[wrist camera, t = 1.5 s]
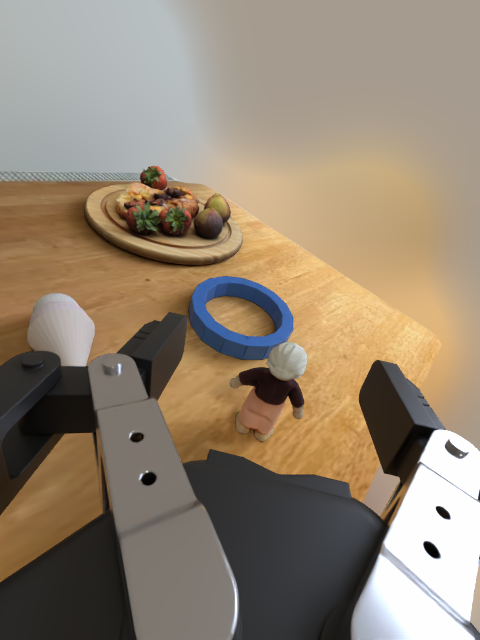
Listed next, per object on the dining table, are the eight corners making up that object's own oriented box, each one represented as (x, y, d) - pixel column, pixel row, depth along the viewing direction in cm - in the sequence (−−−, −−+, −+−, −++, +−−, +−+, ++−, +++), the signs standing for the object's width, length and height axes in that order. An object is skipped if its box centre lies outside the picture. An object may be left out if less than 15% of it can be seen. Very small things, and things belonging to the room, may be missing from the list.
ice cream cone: (78, 423, 27) (55, 332, 36) (130, 379, 27) (94, 301, 37) (15, 403, 22) (7, 305, 32) (79, 350, 23) (53, 269, 32)
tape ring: (166, 316, 41) (169, 301, 39) (225, 279, 52) (229, 266, 51) (258, 379, 37) (265, 365, 35) (300, 324, 49) (307, 311, 47)
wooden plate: (95, 182, 67) (94, 143, 62) (225, 208, 78) (233, 176, 73) (71, 255, 45) (65, 203, 40) (257, 276, 56) (272, 238, 51)
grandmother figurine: (281, 417, 34) (333, 345, 26) (281, 449, 31) (340, 378, 23) (219, 400, 33) (252, 321, 25) (213, 431, 30) (248, 352, 22)
